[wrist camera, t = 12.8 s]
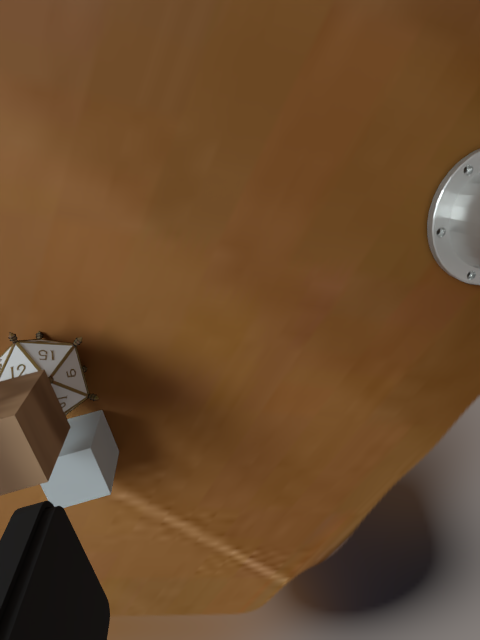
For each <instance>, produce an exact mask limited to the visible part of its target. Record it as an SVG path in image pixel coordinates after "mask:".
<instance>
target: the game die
mask: <svg viewBox="0 0 480 640" xmlns="http://www.w3.org/2000/svg"><path fill="white" fill-rule="evenodd" d="M8 338H9V339H10V341H12V342H13V344H12V345H11V346H10V347H9V348H8V349H7V350H6V351H5V352H4V353H3V354H2V355H1V356H0V381H4V380H7V379H11V378H15V377H18V376H22V375H26V374H30V373H33V372H37V371H41V370H44V369H45V372H46V374H47V376H48V378H49V380H50V383H51V385H52V387H53V389H54V392H55V394H56V396H57V398H58V400H59V403H60V405H61V407H62V409H63V411H64V414H65V416H66V415H67V414H68V413H69V412H71V411H72V410H73V409H74V408H76V407H77V406H78V405H80V404H81V403H82V402H83V401H85V400H86V399H87V398H89V399H90V400H93V401H95V400H98V399H99V398H98V397H97V394H96V395H94V394H89V391H88V387H87V383H86V380H85V376H84V372H86V370H87V368H86V367H85V366H83V367H82V365H81V362H80V358H79V355H78V351H77V347H76V346H77V345H80V343H82V337H80V338H76V340H74V343H73V344H71V343H64V342H57V341H50V340H44V339H42V338H43V334H41V332H40V331H39V332H38V333H37V334H36V338H37V339H33V340H19V341H18V340H17V336H16V334H13V333H11V332H10V334H9V337H8Z"/></svg>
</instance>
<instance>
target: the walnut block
mask: <svg viewBox="0 0 480 640" xmlns="http://www.w3.org/2000/svg"><path fill="white" fill-rule="evenodd" d="M69 430H70V425H69V423H68V420H67V418H66V416H65V414H64V411H63V409H62V407H61V405H60V403H59V400H58V398H57V396H56V394H55V392H54V389H53V387H52V385H51V383H50V380H49V378H48V376H47V374H46V372H45V369H44V370H41V371H37V372H33V373H30V374H26V375H22V376H18V377H15V378H11V379H7V380H4V381H0V495H3V494H7V493H11V492H14V491H18V490H21V489H25V488H28V487H32V486H35V485H39V484H42V483H46V482H48V481H49V478H50V476H51V474H52V471H53V469H54V466H55V464H56V461H57V459H58V456H59V454H60V452H61V449H62V447H63V444H64V442H65V439H66V437H67V434H68V432H69Z"/></svg>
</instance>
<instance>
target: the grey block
mask: <svg viewBox="0 0 480 640" xmlns="http://www.w3.org/2000/svg"><path fill="white" fill-rule="evenodd" d="M67 420H68V423H69V425H70V430H69V432H68V434H67V437H66V439H65V442H64V444H63V447H62V449H61V452H60V454H59V456H58V459H57V461H56V464H55V466H54V469H53V471H52V474H51V476H50V478H49V481H48V482H46V483H42V484H40V485H41V487H42V489H43V491H44V493H45V495H46V497H47V499H48V500H49V501H50V502H51V503H52V504H53V505H54V507H56V506H61V507H63V508H65V507H68V506H72V505H75V504H79V503H82V502H86V501H89V500H93V499H96V498H100V497H103V496H107V495H110V494H111V491H112V486H113V481H114V476H115V470H116V465H117V460H118V455H119V450H118V447H117V445H116V442H115V440H114V438H113V435H112V433H111V430H110V428H109V425H108V423H107V420H106V418H105V415H104V413H103V411H102V410H100V411H96V412H92V413H89V414H85V415H81V416H78V417H74V418H70V419H67Z"/></svg>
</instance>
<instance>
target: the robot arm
mask: <svg viewBox="0 0 480 640" xmlns="http://www.w3.org/2000/svg"><path fill="white" fill-rule="evenodd" d="M437 230H438V231H437ZM427 237H428V241H429V246H430V250H431V252H432V254H433V256H434V259H435V260H436V262H437V263H438V264H439V266H440V267H441V268H442V269H443V270H444V271H445V272H446V273H448V274H449V275H450V276H452V277H454V278H456V279H458V280H460V281H463V282H466V283H469V284H475V285H480V149H478V150H475V151H473V152H471V153H470V154H469V155H467V156H466V157H464V158H463V159H462V160H460V161H459V162H458V163H457V164H456V165H455V166H454V167H453V168H452V169H451V170H450V171H449V172H448V174H447V175H446V176H445V178H444V179H443V180H442V182H441V183H440V185H439V187H438V189H437V191H436V193H435V195H434V197H433V200H432V203H431V206H430V209H429V215H428V221H427ZM109 620H110V609H109V603H108V600H107V597H106V595H105V593H104V591H103V589H102V587H101V585H100V583H99V580H98V578H97V576H96V574H95V572H94V570H93V568H92V566H91V564H90V562H89V560H88V558H87V556H86V554H85V552H84V550H83V547H82V545H81V543H80V541H79V539H78V537H77V535H76V533H75V531H74V529H73V527H72V525H71V523H70V521H69V519H68V517H67V514H66V512H65V510H64V509H63V507H61V506H56V507H54V505H53V504H52V503H51V502H50V501H44V502H41V503H37V504H34V505H30V506H26V507H23V508H19V509H17V510H16V511H15V512H14V513H13V515H12V517H11V519H10V521H9V523H8V525H7V528H6V530H5V532H4V534H3V536H2V538H1V540H0V640H107V634H108V628H109Z"/></svg>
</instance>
